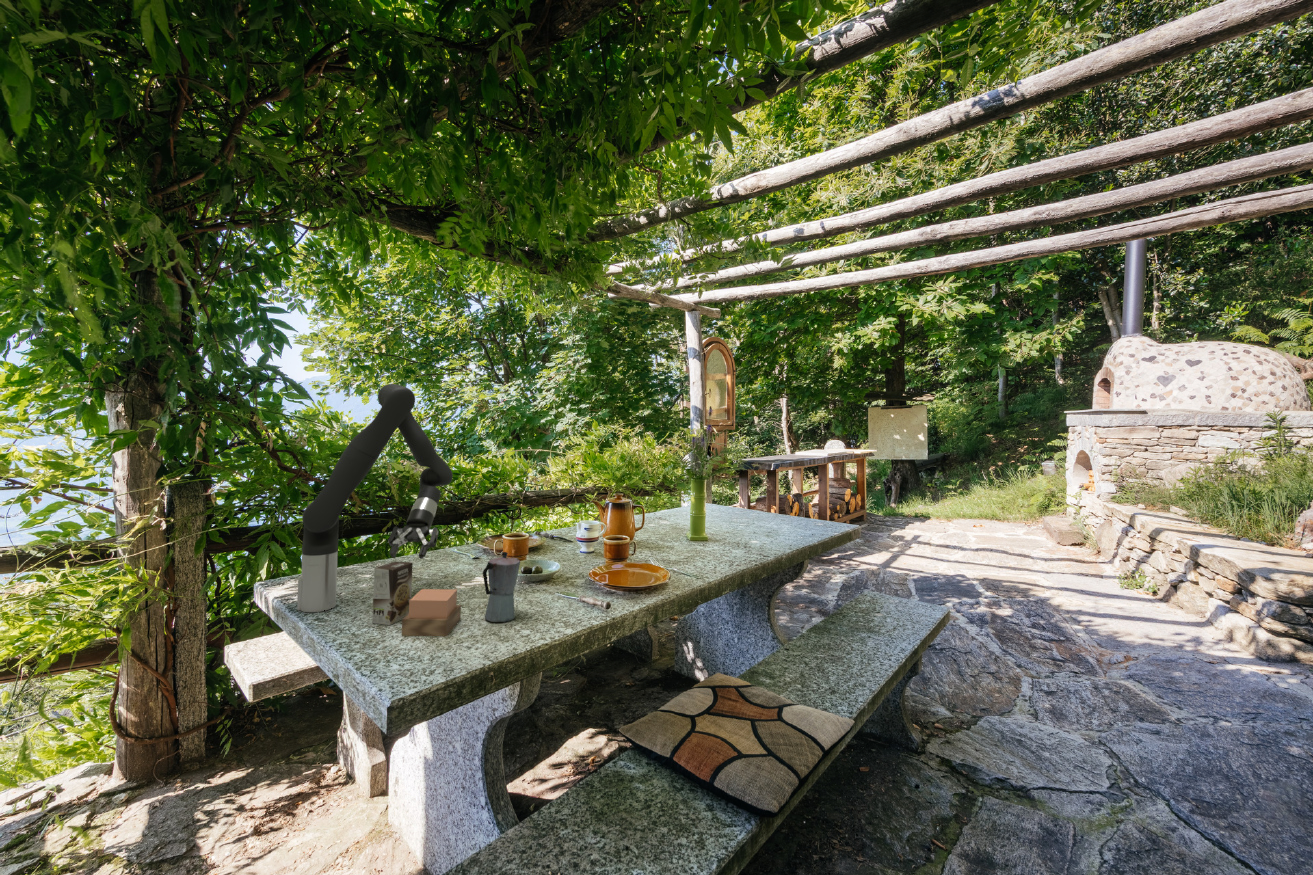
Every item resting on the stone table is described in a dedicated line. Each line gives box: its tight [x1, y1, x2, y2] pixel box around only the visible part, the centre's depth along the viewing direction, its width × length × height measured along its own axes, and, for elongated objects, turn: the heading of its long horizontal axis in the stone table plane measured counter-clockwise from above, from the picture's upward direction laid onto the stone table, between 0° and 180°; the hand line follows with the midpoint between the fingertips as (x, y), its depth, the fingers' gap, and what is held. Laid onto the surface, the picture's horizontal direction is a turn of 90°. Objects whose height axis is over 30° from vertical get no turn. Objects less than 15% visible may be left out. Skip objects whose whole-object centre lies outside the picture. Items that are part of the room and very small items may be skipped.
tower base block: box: [401, 604, 462, 637], centre depth 149 cm, size 12×12×5 cm
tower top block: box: [409, 588, 458, 619], centre depth 148 cm, size 10×10×5 cm
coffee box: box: [371, 561, 413, 626], centre depth 154 cm, size 9×6×16 cm
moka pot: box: [482, 551, 521, 623], centre depth 157 cm, size 10×15×20 cm, turn 161°
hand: (406, 557), depth 162 cm, fingers open, 8 cm apart
